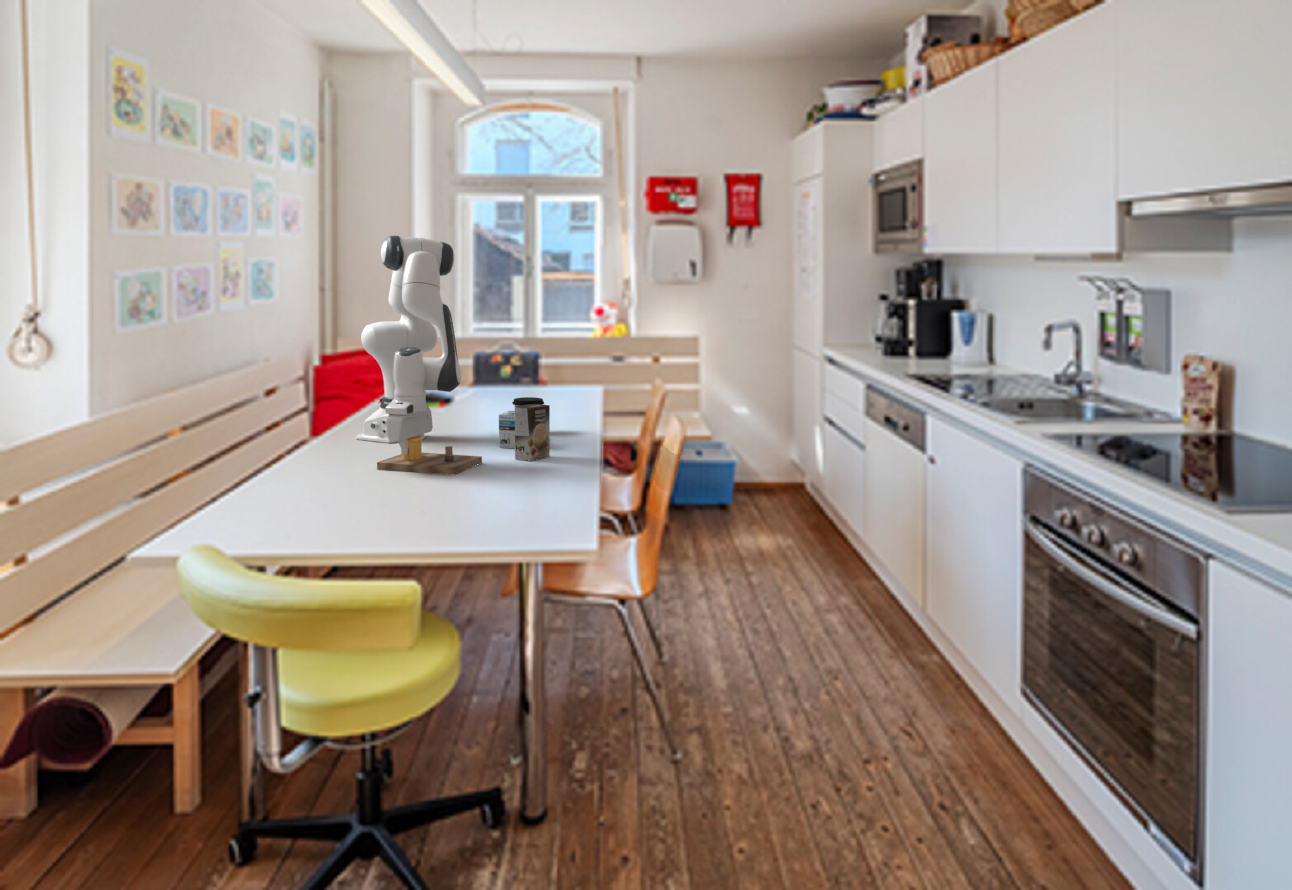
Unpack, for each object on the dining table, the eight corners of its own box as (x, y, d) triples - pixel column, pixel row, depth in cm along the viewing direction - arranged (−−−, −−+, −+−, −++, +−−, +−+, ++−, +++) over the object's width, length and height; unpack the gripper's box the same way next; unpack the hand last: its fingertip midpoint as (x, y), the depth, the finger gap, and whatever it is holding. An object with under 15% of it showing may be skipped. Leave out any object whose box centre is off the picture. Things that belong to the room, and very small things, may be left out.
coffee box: (530, 461, 304) (530, 408, 301) (514, 459, 308) (513, 406, 305) (550, 457, 311) (550, 404, 309) (534, 454, 315) (533, 403, 312)
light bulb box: (518, 449, 325) (518, 415, 323) (498, 448, 326) (497, 414, 324) (529, 443, 335) (528, 410, 333) (509, 442, 336) (508, 410, 334)
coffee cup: (507, 435, 351) (506, 400, 349) (520, 430, 361) (520, 396, 359) (537, 436, 348) (536, 401, 346) (549, 431, 358) (549, 397, 356)
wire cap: (398, 459, 295) (397, 438, 294) (408, 455, 301) (407, 435, 300) (415, 460, 294) (415, 439, 293) (425, 456, 299) (424, 436, 298)
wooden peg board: (377, 469, 291) (376, 448, 290) (409, 458, 308) (408, 438, 307) (453, 474, 284) (453, 453, 283) (482, 463, 301) (481, 443, 300)
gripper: (418, 399, 305) (419, 445, 308) (381, 408, 286) (383, 457, 288) (437, 400, 304) (438, 446, 306) (402, 409, 284) (403, 458, 287)
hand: (411, 451), depth 297 cm, fingers closed on wire cap, 6 cm apart
